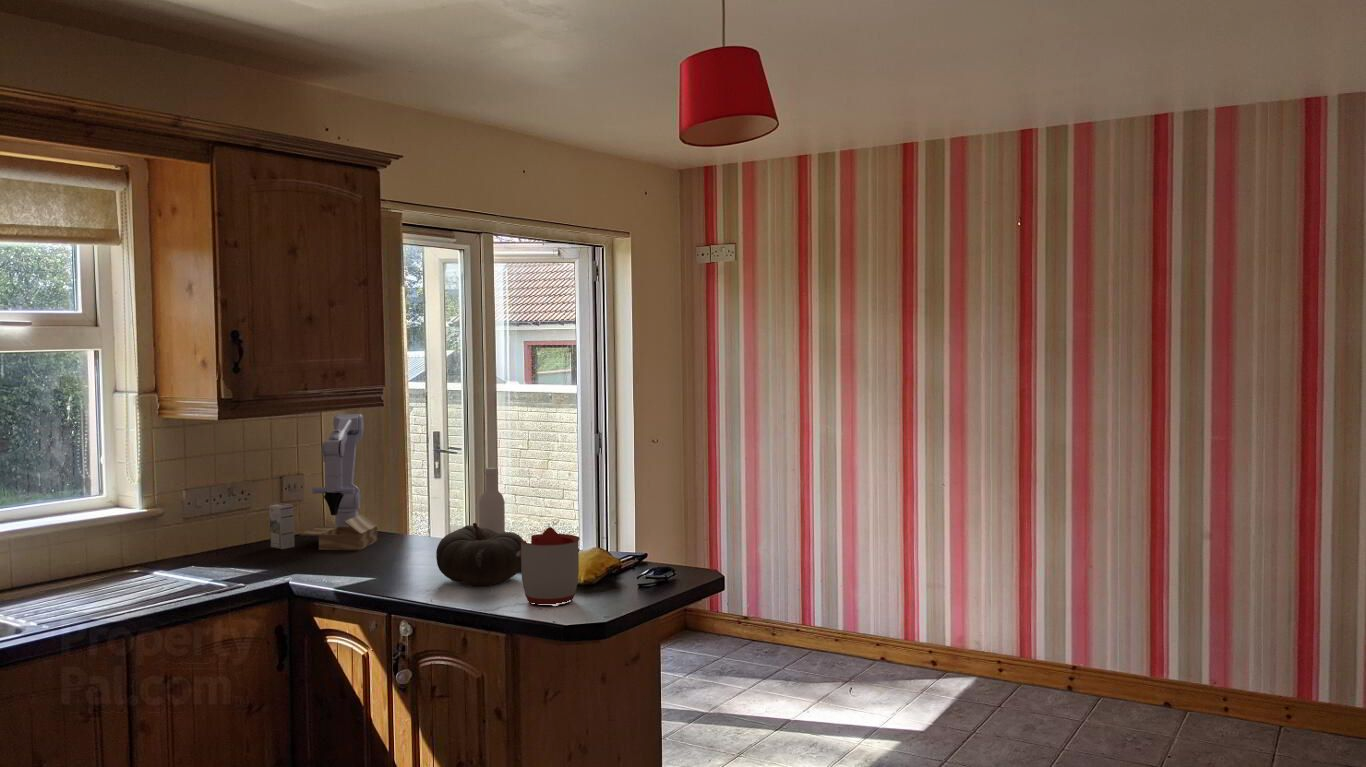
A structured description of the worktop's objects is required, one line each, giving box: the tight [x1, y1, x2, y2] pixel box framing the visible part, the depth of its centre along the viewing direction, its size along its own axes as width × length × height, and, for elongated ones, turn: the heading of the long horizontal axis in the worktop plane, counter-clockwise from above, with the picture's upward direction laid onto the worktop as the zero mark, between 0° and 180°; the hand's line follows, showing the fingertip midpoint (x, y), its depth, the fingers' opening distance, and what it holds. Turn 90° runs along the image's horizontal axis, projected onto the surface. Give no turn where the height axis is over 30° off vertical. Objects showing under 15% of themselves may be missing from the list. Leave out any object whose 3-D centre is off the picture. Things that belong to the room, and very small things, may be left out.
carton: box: [299, 526, 378, 551], centre depth 354 cm, size 16×21×5 cm
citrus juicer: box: [516, 526, 580, 604], centre depth 275 cm, size 16×17×20 cm
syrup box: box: [269, 503, 295, 550], centre depth 351 cm, size 6×6×14 cm
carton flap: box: [344, 514, 378, 535], centre depth 354 cm, size 14×7×1 cm
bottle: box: [478, 467, 506, 533], centre depth 323 cm, size 8×8×30 cm
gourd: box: [435, 522, 524, 586], centre depth 301 cm, size 25×25×17 cm
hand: (334, 514), depth 354 cm, fingers closed
